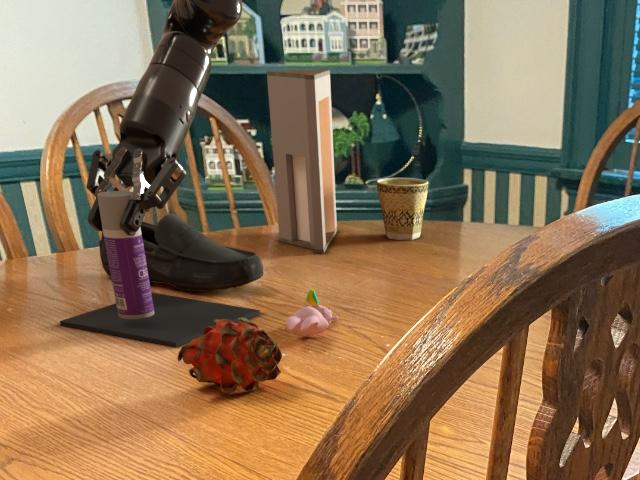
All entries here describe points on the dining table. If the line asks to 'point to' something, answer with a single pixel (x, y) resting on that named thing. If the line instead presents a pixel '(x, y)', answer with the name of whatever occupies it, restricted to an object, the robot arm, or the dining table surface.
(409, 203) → the ceramic cup
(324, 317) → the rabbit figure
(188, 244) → the loafer
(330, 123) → the cabinet
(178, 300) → the mat
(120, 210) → the container
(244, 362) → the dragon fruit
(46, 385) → the dining table surface
